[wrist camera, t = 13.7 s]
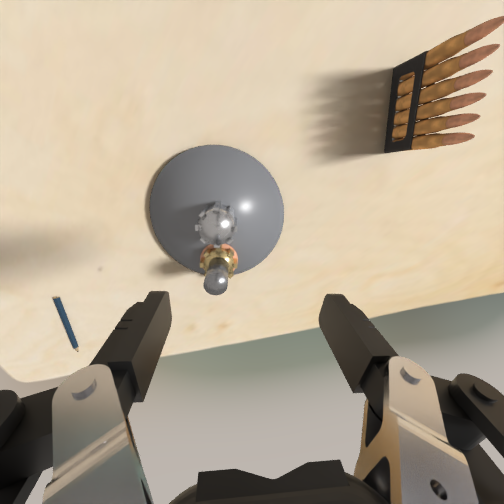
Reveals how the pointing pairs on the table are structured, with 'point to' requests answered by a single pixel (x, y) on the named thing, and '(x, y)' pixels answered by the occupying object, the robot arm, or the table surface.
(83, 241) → the table surface
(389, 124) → the ammunition clip
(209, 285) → the planet gear
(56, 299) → the pencil
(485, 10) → the table surface
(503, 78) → the table surface
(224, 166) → the carrier plate
